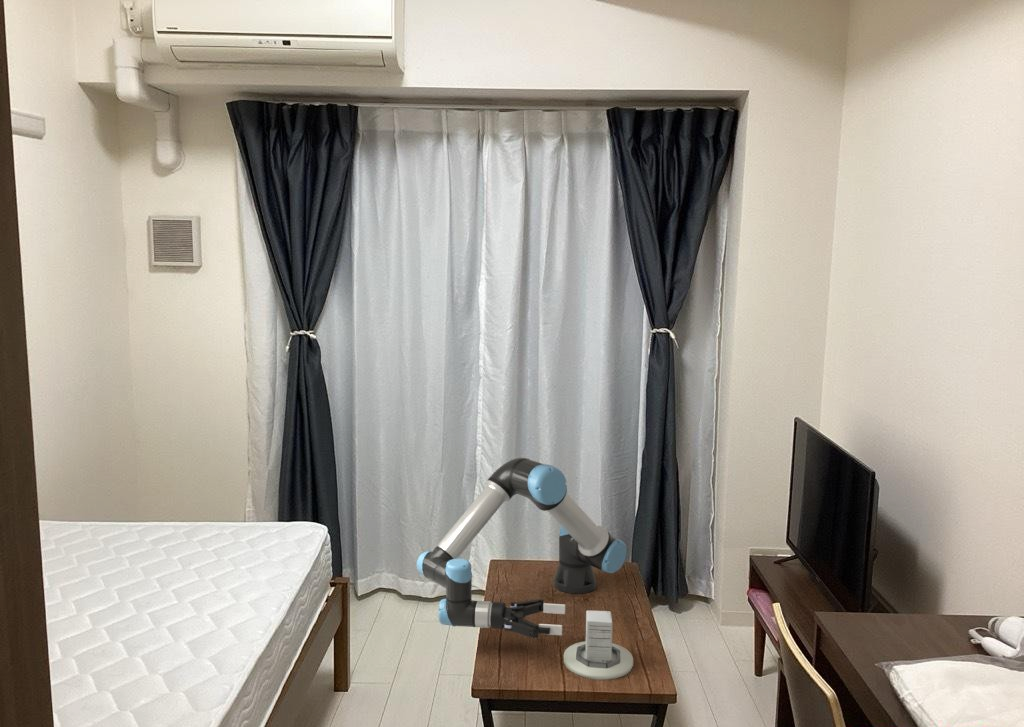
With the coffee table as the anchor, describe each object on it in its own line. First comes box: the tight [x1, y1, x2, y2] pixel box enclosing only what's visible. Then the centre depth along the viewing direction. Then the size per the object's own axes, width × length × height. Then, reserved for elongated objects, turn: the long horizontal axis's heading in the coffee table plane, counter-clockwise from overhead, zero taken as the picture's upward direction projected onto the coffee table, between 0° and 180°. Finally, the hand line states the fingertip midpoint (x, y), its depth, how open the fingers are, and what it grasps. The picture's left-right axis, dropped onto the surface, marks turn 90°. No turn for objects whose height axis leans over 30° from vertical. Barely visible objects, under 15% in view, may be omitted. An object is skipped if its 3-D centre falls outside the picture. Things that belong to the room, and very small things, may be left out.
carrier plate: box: [563, 640, 634, 681], centre depth 231 cm, size 20×20×2 cm
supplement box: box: [585, 610, 613, 663], centre depth 230 cm, size 7×7×13 cm
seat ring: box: [576, 644, 620, 668], centre depth 231 cm, size 13×13×1 cm
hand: (563, 619), depth 232 cm, fingers open, 13 cm apart
